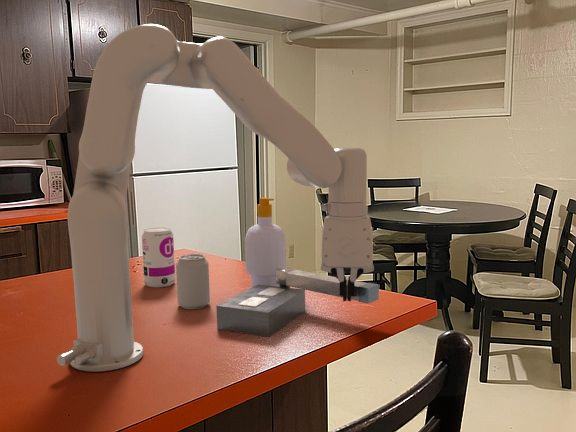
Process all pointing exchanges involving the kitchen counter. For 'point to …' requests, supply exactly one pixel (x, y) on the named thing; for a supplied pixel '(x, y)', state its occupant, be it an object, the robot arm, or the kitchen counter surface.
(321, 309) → the kitchen counter surface
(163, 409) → the kitchen counter surface
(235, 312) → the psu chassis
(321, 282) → the bar
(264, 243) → the soap bottle
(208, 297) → the can
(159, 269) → the supplement can
